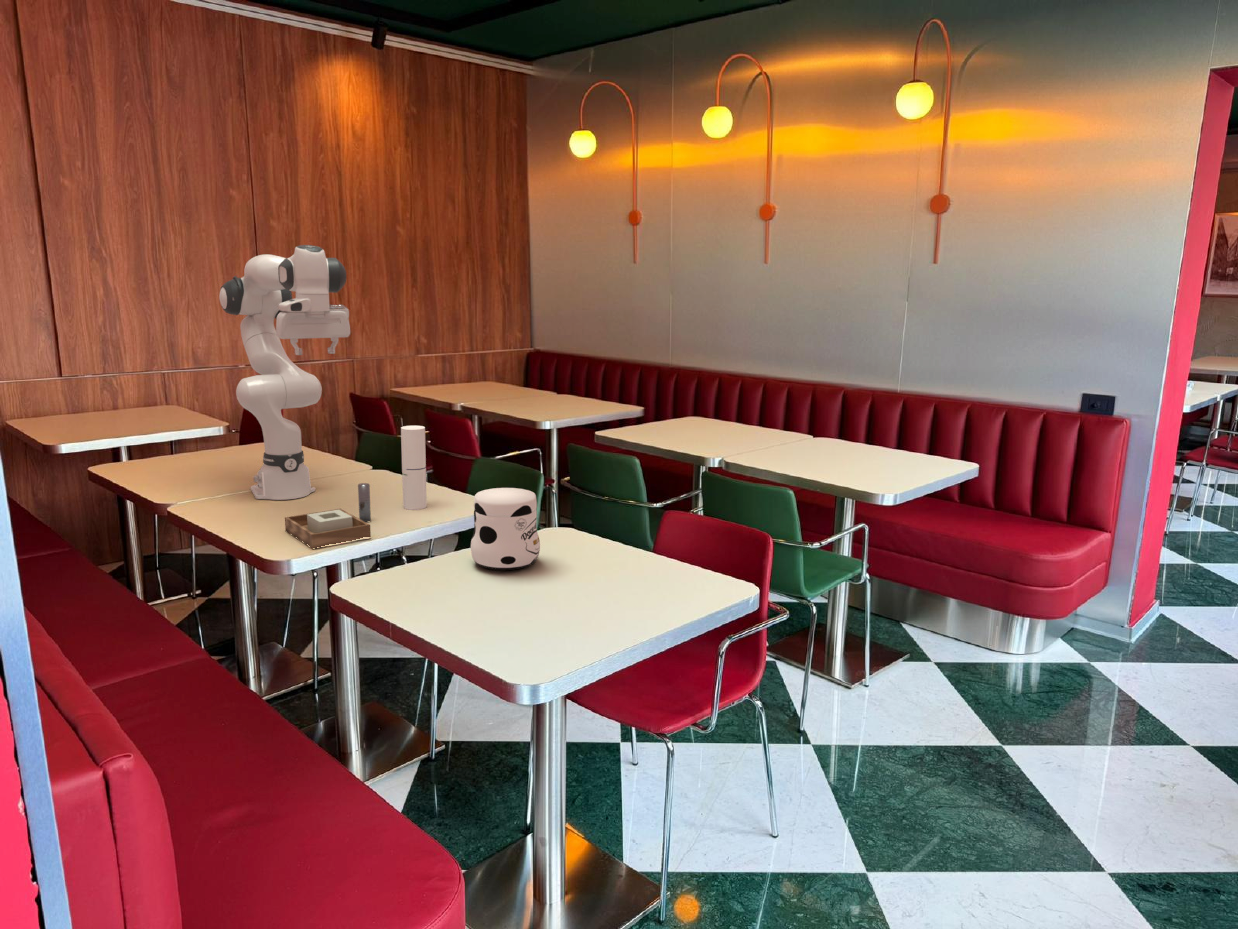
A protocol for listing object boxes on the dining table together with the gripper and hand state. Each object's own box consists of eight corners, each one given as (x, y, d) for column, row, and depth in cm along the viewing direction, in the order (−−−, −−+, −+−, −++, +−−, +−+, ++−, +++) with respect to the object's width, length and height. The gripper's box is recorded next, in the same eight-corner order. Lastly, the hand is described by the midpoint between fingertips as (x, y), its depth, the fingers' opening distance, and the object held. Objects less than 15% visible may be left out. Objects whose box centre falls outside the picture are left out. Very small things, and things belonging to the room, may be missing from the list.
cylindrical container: (420, 510, 265) (418, 430, 260) (399, 508, 267) (396, 428, 261) (430, 504, 272) (428, 426, 267) (409, 503, 273) (407, 424, 268)
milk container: (550, 570, 216) (550, 500, 212) (483, 579, 208) (482, 507, 204) (525, 549, 231) (526, 484, 227) (462, 557, 223) (461, 490, 219)
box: (285, 531, 241) (284, 517, 240) (341, 521, 251) (340, 508, 250) (312, 549, 226) (312, 534, 225) (370, 538, 236) (370, 524, 236)
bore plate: (307, 532, 238) (306, 514, 236) (339, 526, 243) (338, 509, 242) (320, 540, 231) (319, 522, 230) (352, 534, 237) (352, 516, 235)
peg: (357, 520, 253) (356, 484, 251) (368, 518, 255) (366, 482, 253) (362, 523, 251) (360, 486, 248) (372, 521, 253) (371, 484, 250)
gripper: (343, 304, 252) (345, 351, 255) (272, 304, 239) (275, 354, 242) (353, 305, 247) (355, 353, 250) (280, 305, 234) (283, 356, 237)
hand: (315, 354), depth 246 cm, fingers open, 8 cm apart
